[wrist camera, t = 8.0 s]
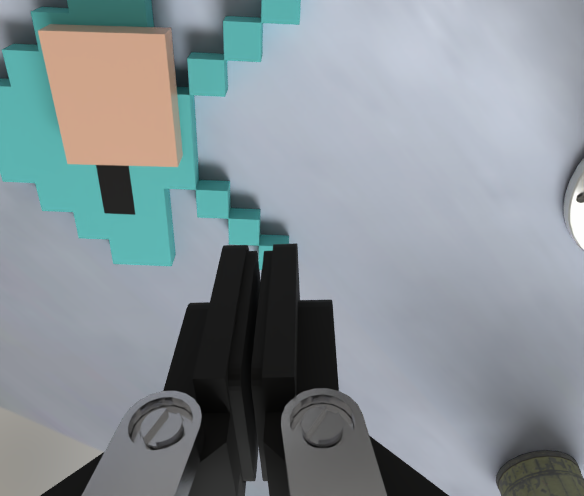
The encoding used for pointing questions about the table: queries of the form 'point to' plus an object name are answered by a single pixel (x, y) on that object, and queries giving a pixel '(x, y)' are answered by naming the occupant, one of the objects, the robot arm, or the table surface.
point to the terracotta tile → (114, 94)
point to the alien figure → (114, 178)
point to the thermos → (541, 475)
